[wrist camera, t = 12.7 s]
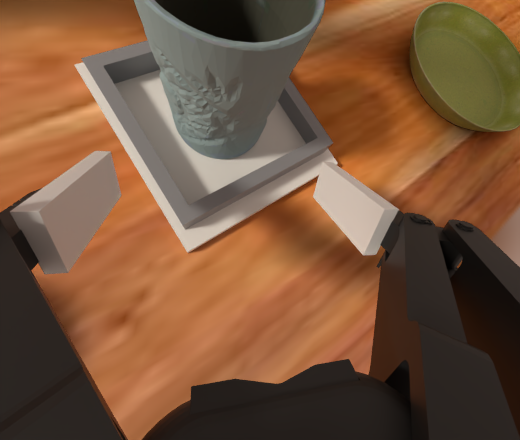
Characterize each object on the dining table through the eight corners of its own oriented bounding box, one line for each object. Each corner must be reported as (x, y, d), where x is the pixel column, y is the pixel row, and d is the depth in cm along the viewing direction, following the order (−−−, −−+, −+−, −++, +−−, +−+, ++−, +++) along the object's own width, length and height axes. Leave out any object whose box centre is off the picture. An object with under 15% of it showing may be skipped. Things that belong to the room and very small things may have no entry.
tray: (80, 74, 21) (60, 43, 18) (239, 28, 27) (243, -1, 24) (188, 253, 20) (185, 250, 17) (333, 167, 25) (348, 154, 22)
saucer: (381, 100, 30) (401, 81, 27) (407, 3, 35) (426, -23, 32) (503, 166, 32) (534, 155, 29) (509, 65, 38) (536, 47, 35)
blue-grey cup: (152, 147, 20) (79, -10, 9) (183, 61, 23) (157, -146, 11) (259, 177, 22) (314, 78, 11) (276, 94, 25) (336, -58, 13)
